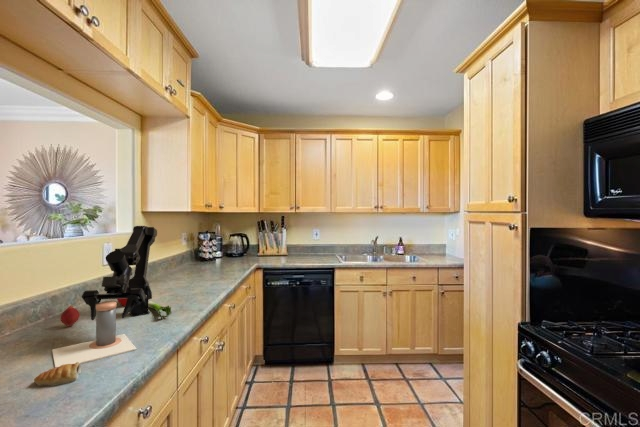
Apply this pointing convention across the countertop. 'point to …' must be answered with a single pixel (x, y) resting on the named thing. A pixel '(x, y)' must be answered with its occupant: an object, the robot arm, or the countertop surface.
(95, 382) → the countertop surface
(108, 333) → the tube
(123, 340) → the card
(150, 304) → the celery
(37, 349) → the countertop surface
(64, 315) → the onion
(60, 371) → the pastry
